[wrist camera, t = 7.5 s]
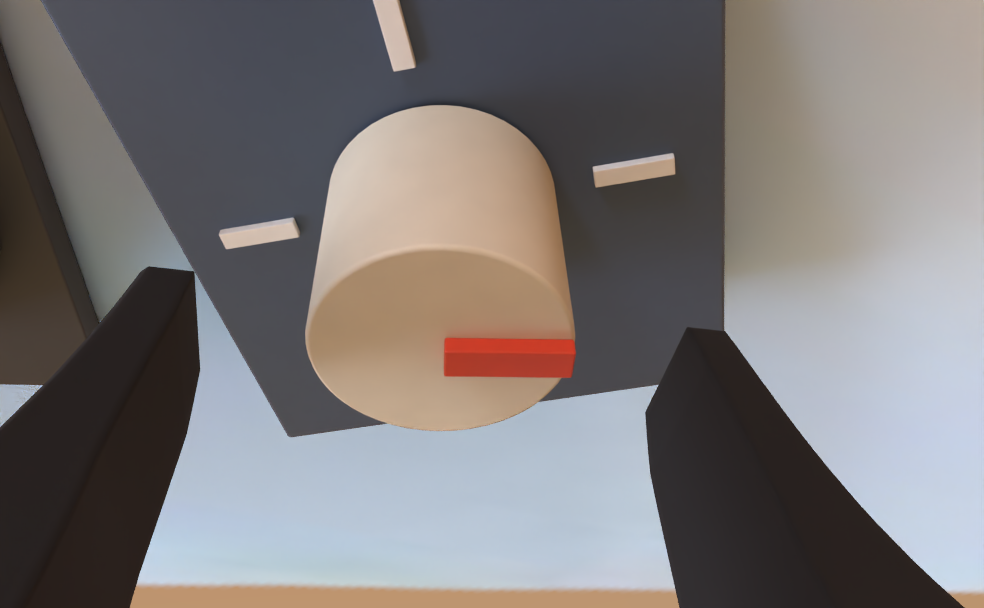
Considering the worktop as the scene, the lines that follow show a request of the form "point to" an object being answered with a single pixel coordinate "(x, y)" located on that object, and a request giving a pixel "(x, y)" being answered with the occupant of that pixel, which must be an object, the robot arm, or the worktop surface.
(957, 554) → the worktop surface
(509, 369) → the knob
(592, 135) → the control panel
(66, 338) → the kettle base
